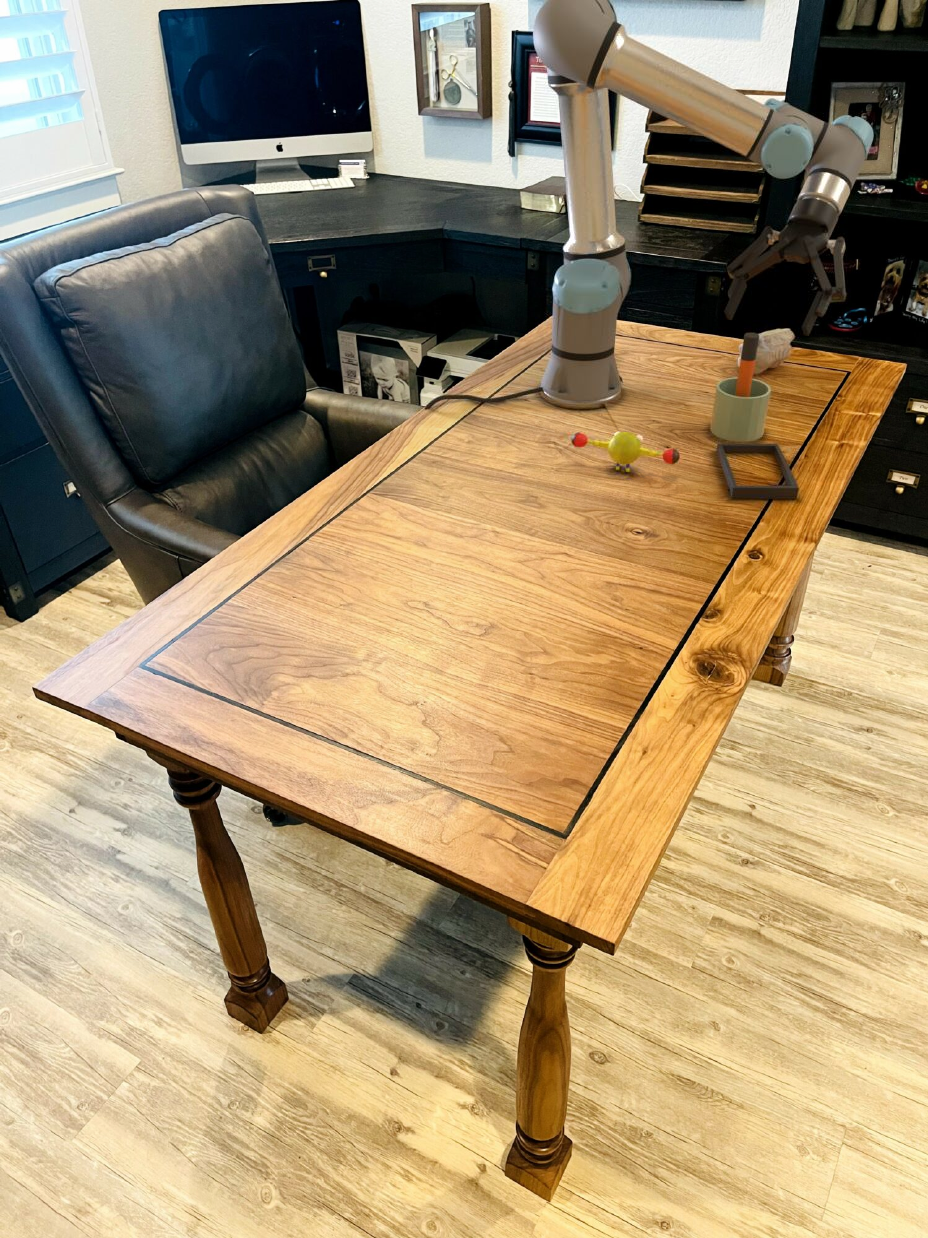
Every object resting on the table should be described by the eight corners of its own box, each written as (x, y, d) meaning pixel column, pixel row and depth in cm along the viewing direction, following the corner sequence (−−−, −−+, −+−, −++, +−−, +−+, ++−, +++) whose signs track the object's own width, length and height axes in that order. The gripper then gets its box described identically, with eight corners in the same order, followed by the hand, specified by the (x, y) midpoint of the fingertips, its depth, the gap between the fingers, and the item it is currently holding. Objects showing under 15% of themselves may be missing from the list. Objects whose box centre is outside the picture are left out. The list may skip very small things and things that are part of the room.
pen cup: (719, 446, 164) (727, 400, 159) (702, 424, 171) (709, 378, 166) (770, 443, 165) (779, 396, 160) (751, 420, 172) (759, 375, 167)
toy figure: (681, 473, 157) (686, 435, 153) (672, 488, 153) (677, 449, 149) (576, 454, 163) (578, 417, 159) (565, 468, 159) (567, 430, 155)
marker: (732, 433, 167) (747, 337, 157) (727, 427, 169) (742, 332, 159) (745, 432, 167) (761, 336, 157) (740, 426, 169) (756, 331, 159)
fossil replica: (725, 374, 190) (775, 388, 186) (734, 335, 184) (785, 348, 181) (744, 350, 197) (792, 362, 194) (753, 311, 192) (803, 323, 188)
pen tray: (796, 499, 149) (799, 487, 148) (731, 498, 150) (733, 487, 148) (775, 454, 161) (778, 443, 160) (715, 454, 162) (717, 443, 161)
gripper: (894, 233, 158) (841, 349, 157) (751, 212, 171) (702, 320, 170) (891, 205, 152) (836, 326, 151) (743, 186, 164) (692, 298, 163)
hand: (765, 323), depth 160 cm, fingers open, 13 cm apart
